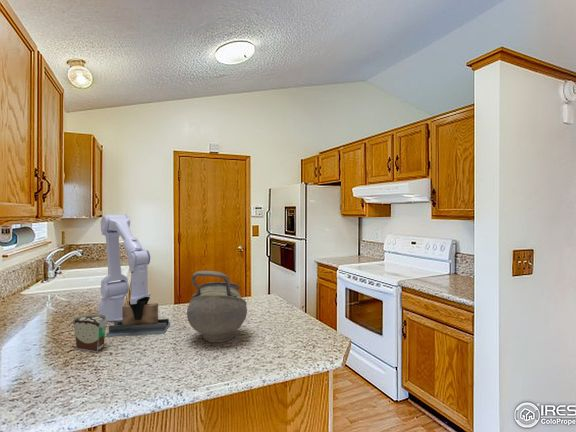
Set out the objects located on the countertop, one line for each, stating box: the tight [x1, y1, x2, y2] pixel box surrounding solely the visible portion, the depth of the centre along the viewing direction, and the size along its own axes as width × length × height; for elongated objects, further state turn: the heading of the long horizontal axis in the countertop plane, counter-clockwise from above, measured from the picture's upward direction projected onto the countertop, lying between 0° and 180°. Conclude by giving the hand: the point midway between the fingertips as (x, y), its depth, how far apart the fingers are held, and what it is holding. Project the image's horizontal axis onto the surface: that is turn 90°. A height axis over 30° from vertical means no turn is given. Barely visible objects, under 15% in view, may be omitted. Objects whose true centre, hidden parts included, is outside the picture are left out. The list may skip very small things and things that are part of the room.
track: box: [105, 318, 171, 338], centre depth 124 cm, size 20×10×3 cm, turn 98°
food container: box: [72, 313, 109, 353], centre depth 109 cm, size 12×6×10 cm, turn 71°
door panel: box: [121, 302, 159, 325], centre depth 124 cm, size 12×3×8 cm, turn 98°
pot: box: [186, 270, 248, 343], centre depth 115 cm, size 21×21×25 cm
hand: (139, 318), depth 124 cm, fingers closed on door panel, 3 cm apart
